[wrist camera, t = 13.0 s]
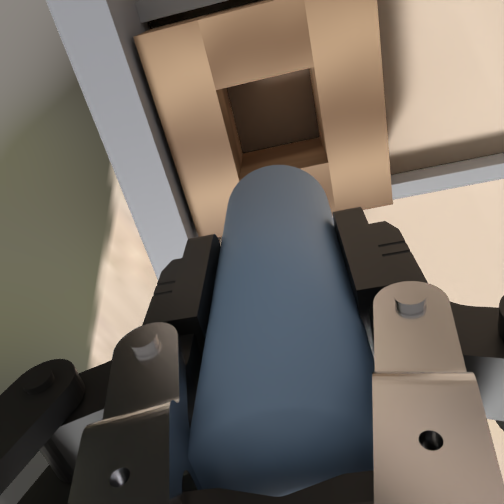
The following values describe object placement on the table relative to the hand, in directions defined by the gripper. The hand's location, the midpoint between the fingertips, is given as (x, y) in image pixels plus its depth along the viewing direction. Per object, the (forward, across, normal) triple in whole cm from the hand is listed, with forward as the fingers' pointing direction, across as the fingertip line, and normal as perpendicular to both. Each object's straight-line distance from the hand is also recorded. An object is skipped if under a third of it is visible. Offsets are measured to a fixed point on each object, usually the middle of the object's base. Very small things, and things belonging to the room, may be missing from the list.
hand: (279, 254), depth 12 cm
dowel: (+3, 0, 0) cm, 3 cm away
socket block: (+17, 0, 0) cm, 17 cm away
